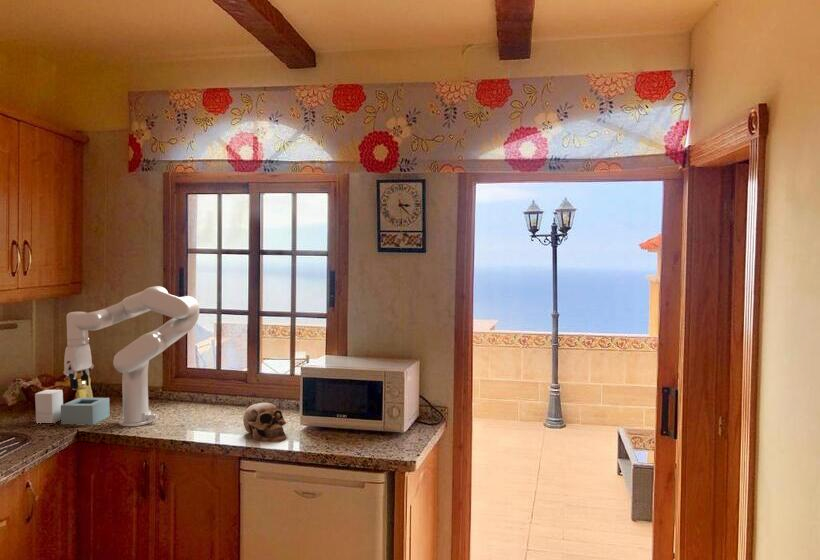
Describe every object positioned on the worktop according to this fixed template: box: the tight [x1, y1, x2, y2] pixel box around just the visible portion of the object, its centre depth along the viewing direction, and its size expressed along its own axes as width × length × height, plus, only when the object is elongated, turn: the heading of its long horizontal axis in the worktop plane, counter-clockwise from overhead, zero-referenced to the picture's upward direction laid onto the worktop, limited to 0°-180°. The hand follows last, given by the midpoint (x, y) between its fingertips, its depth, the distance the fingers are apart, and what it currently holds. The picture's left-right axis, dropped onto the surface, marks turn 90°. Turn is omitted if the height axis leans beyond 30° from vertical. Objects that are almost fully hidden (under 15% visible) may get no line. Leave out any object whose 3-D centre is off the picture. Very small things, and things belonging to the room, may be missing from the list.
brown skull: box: [242, 402, 287, 443], centre depth 235 cm, size 16×17×13 cm
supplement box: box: [34, 389, 64, 425], centre depth 254 cm, size 7×7×13 cm
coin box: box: [60, 397, 111, 426], centre depth 255 cm, size 13×13×8 cm
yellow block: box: [72, 379, 88, 391], centre depth 250 cm, size 5×5×3 cm
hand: (79, 386), depth 250 cm, fingers closed on yellow block, 4 cm apart
